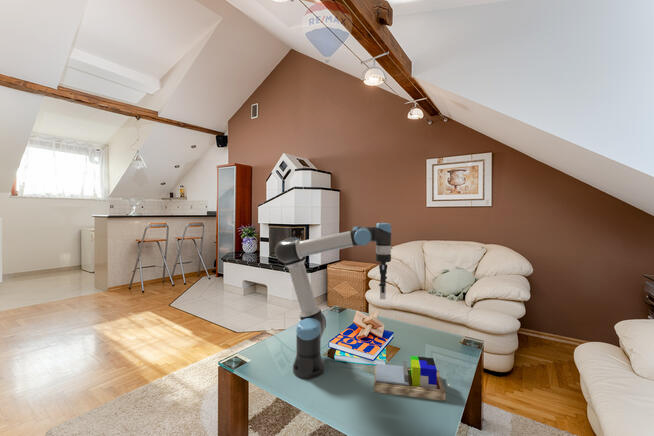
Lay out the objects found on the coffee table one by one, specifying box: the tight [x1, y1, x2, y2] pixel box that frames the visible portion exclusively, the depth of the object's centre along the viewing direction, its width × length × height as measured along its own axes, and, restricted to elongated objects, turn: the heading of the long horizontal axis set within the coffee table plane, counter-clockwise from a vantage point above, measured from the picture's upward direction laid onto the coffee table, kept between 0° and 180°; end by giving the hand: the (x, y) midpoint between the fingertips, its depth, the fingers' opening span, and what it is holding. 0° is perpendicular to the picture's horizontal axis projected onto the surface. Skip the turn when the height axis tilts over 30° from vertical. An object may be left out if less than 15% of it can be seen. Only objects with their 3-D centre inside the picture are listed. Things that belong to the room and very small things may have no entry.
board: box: [373, 363, 447, 402], centre depth 135 cm, size 29×18×3 cm, turn 79°
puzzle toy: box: [409, 355, 438, 389], centre depth 133 cm, size 10×10×10 cm
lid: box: [375, 360, 409, 386], centre depth 136 cm, size 14×14×4 cm
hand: (382, 295), depth 153 cm, fingers open, 13 cm apart
